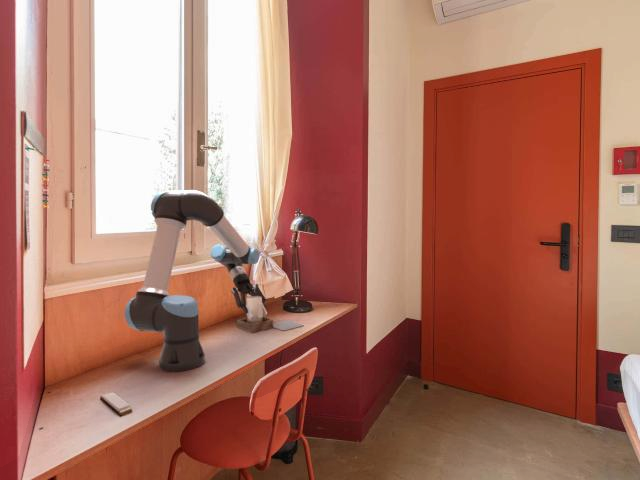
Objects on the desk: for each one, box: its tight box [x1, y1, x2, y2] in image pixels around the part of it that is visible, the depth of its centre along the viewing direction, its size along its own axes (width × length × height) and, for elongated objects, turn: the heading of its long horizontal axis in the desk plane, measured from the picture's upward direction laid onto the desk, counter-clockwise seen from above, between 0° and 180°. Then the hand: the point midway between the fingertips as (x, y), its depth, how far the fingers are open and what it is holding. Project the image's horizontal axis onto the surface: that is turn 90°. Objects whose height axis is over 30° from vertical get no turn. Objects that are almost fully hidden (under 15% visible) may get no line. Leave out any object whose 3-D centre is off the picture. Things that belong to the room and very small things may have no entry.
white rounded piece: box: [246, 295, 264, 324], centre depth 175 cm, size 7×10×12 cm
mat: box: [272, 319, 304, 332], centre depth 178 cm, size 12×12×1 cm
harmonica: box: [99, 392, 133, 417], centre depth 104 cm, size 15×3×2 cm, turn 48°
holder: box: [236, 316, 274, 334], centre depth 176 cm, size 12×12×4 cm
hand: (258, 316), depth 174 cm, fingers closed on white rounded piece, 7 cm apart
